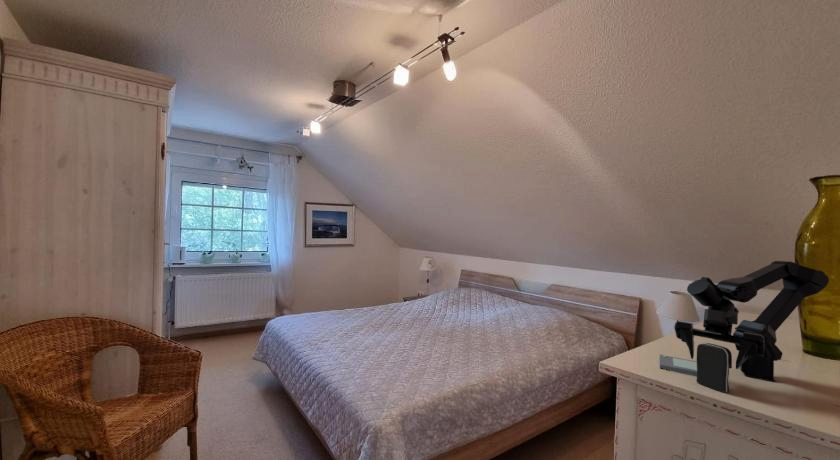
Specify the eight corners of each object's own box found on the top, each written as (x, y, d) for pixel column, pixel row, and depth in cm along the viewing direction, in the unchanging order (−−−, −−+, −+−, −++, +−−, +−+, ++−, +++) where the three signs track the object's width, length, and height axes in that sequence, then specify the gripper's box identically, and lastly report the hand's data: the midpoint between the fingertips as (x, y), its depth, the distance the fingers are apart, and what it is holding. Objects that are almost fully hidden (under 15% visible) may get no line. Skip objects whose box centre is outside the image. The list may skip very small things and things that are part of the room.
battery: (733, 391, 90) (734, 348, 90) (725, 393, 89) (726, 349, 89) (703, 381, 97) (704, 340, 97) (695, 382, 95) (695, 341, 95)
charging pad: (714, 368, 107) (714, 364, 107) (719, 380, 97) (719, 375, 97) (659, 358, 115) (659, 353, 115) (659, 368, 105) (659, 363, 105)
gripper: (676, 293, 103) (666, 336, 95) (764, 304, 89) (761, 355, 81) (681, 316, 108) (672, 359, 100) (765, 330, 94) (762, 380, 87)
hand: (713, 362), depth 92 cm, fingers open, 9 cm apart
